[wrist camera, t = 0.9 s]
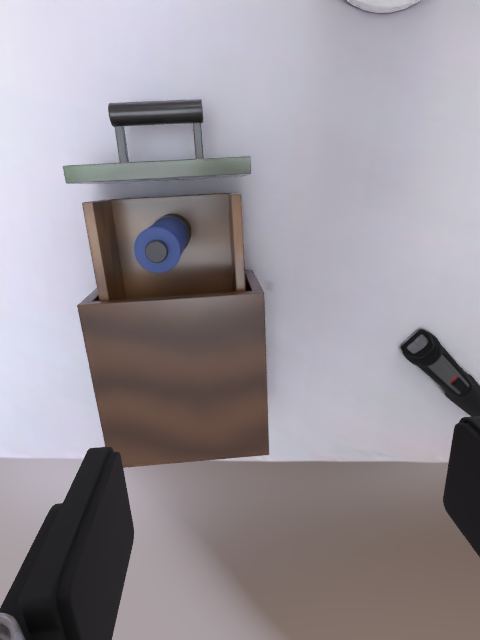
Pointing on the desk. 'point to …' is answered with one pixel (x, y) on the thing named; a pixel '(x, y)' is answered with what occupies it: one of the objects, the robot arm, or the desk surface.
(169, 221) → the marker
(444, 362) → the electric trimmer
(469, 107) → the desk surface
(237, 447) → the cabinet
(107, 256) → the drawer
